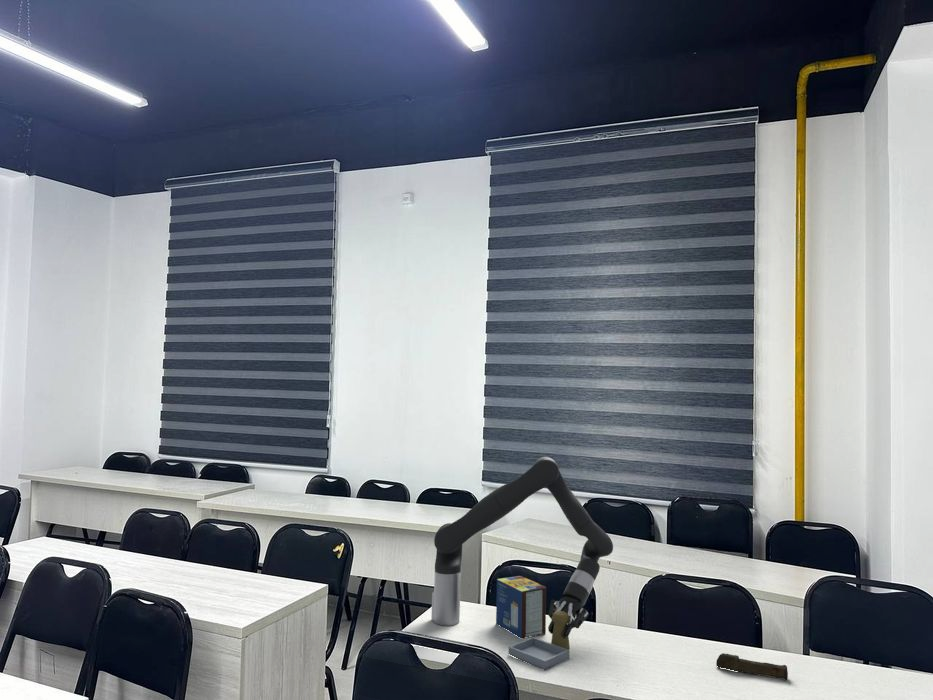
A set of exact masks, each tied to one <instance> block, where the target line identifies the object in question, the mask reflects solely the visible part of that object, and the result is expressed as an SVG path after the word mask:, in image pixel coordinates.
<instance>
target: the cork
mask: <svg viewBox="0 0 933 700" xmlns="http://www.w3.org/2000/svg"><path fill="white" fill-rule="evenodd" d="M552 619H553V622H554V627H553V634H551V642H550V643H551V644H554V645H557V646H559V647H562V648H565V649H568V650H569V651H570V650H571V646H570V638H569V636H568V637H566V639H565V638H563V637H562V635H561V634H562V632H563V629H564V627H565V625H566V624H567V622H568V620H569V617H568V614H567V613H566V612H564V611H556V612H554V613H553V616H552ZM552 619H551V620H552Z"/></svg>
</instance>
